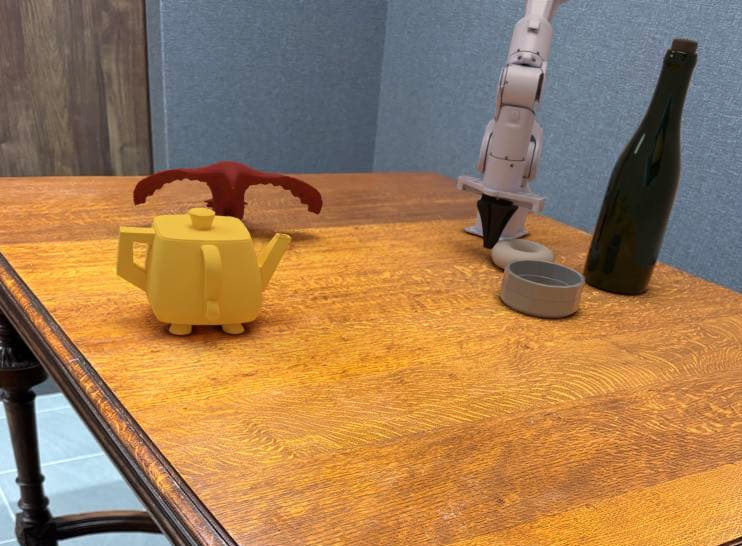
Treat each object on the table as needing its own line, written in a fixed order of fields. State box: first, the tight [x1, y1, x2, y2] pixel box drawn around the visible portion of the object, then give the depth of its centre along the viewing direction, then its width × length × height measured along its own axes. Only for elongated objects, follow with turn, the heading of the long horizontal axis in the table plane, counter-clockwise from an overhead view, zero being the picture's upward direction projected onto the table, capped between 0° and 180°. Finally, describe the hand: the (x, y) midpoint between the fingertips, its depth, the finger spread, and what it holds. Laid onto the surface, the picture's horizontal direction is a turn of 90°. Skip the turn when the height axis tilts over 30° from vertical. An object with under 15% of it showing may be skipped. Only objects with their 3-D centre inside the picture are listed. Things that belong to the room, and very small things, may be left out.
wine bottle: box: [581, 37, 699, 295], centre depth 117 cm, size 10×10×33 cm
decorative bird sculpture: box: [132, 160, 324, 221], centre depth 124 cm, size 28×9×15 cm
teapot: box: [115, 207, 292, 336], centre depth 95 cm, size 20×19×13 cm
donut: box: [490, 238, 556, 270], centre depth 127 cm, size 10×4×10 cm
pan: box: [498, 259, 586, 319], centre depth 114 cm, size 11×11×4 cm
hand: (489, 247), depth 130 cm, fingers closed
